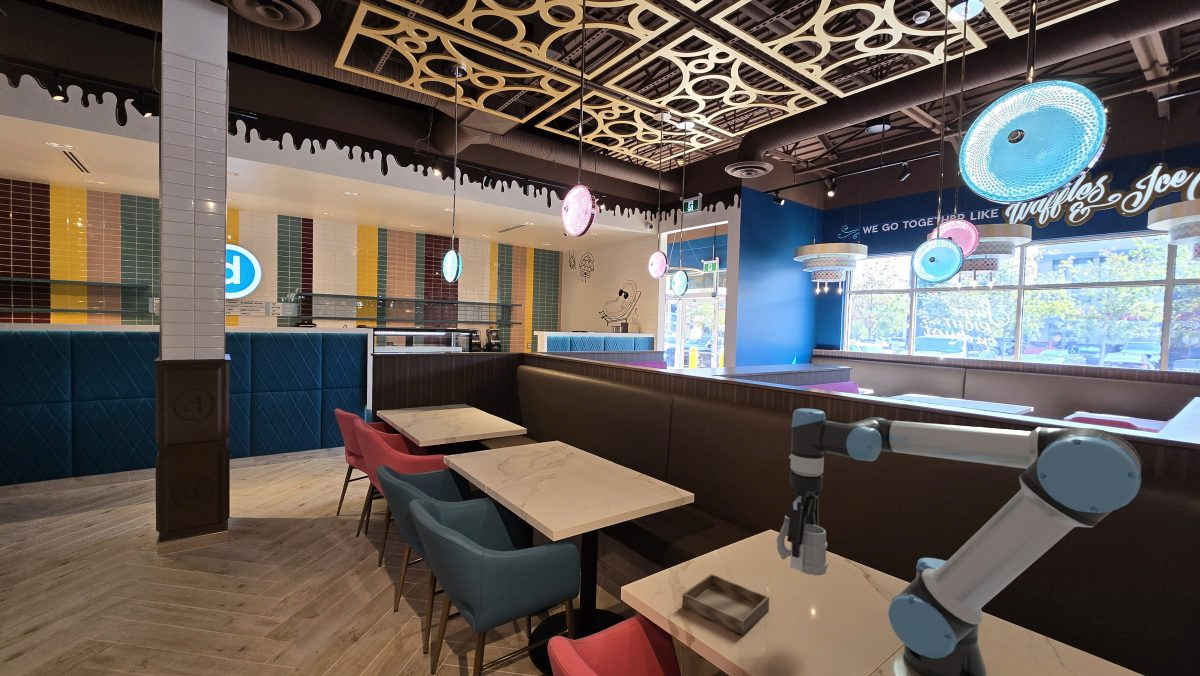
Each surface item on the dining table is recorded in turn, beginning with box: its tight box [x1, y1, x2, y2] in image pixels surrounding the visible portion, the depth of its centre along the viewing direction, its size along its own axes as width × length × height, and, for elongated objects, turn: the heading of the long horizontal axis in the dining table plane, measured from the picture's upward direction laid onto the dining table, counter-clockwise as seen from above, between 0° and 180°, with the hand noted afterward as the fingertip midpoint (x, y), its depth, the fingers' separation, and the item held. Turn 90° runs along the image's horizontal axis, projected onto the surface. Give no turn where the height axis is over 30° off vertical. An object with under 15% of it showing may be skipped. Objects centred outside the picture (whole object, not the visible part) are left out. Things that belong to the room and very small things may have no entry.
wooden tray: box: [681, 573, 770, 638], centre depth 130 cm, size 17×15×4 cm
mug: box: [776, 515, 829, 576], centre depth 121 cm, size 8×12×12 cm, turn 71°
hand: (802, 563), depth 121 cm, fingers closed on mug, 7 cm apart
